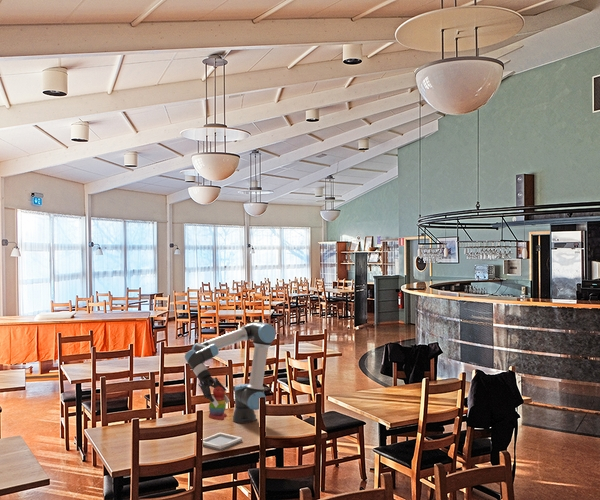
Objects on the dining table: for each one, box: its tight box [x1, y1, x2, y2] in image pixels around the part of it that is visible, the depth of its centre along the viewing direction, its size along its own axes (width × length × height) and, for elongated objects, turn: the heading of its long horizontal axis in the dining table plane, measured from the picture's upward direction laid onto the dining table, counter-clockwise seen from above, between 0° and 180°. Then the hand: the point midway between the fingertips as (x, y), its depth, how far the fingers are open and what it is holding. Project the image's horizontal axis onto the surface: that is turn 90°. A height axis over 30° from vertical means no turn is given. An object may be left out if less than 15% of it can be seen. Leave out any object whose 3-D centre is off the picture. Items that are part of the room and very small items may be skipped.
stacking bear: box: [208, 386, 228, 421], centre depth 339 cm, size 11×10×18 cm
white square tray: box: [202, 432, 243, 451], centre depth 339 cm, size 18×18×2 cm
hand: (222, 404), depth 336 cm, fingers closed on stacking bear, 8 cm apart
